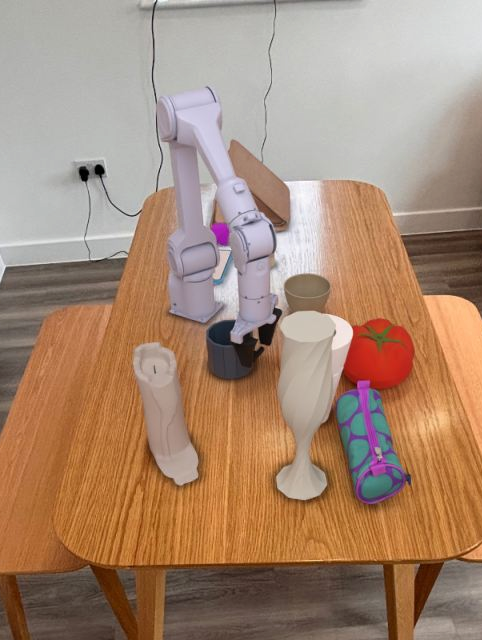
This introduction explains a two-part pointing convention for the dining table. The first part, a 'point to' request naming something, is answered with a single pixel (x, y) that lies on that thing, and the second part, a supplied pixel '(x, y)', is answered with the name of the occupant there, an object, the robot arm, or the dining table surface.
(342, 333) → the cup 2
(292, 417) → the vase
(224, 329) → the blue cylindrical container
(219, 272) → the smartphone
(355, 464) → the pencil case
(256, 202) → the case
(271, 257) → the peg
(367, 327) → the tomato
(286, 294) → the flower pot
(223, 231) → the crystal
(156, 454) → the candle
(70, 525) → the dining table surface
